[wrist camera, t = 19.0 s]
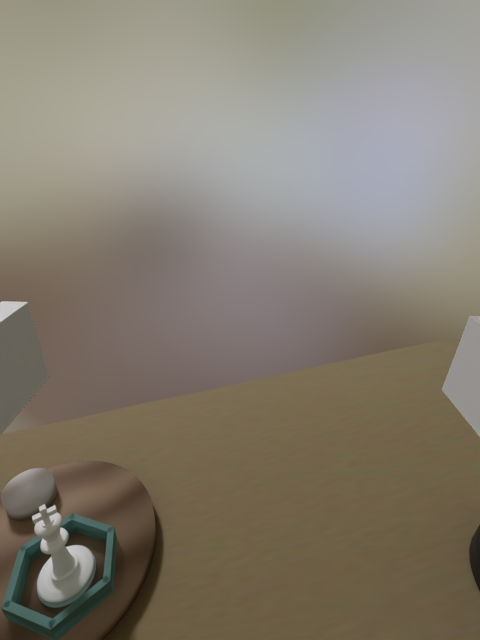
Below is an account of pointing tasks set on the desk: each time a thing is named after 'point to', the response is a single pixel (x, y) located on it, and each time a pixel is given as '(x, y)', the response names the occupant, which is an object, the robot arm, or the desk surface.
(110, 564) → the carrier
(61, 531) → the chess piece
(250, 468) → the desk surface
